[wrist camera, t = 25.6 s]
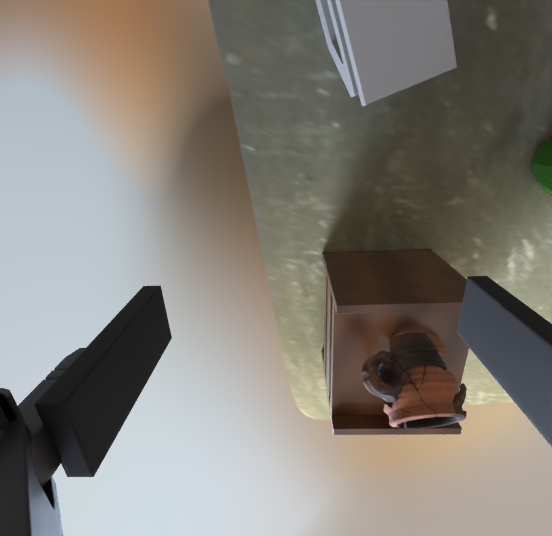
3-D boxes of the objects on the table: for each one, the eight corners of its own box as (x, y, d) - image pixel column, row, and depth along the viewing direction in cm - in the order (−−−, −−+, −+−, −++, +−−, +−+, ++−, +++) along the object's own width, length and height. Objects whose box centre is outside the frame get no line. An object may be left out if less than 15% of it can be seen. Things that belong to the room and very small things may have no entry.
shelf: (430, 248, 45) (493, 301, 31) (414, 353, 52) (460, 434, 38) (322, 252, 46) (336, 305, 32) (321, 355, 53) (333, 435, 39)
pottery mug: (465, 334, 36) (499, 415, 31) (407, 363, 42) (426, 433, 38) (376, 318, 32) (398, 408, 27) (328, 353, 38) (338, 429, 34)
